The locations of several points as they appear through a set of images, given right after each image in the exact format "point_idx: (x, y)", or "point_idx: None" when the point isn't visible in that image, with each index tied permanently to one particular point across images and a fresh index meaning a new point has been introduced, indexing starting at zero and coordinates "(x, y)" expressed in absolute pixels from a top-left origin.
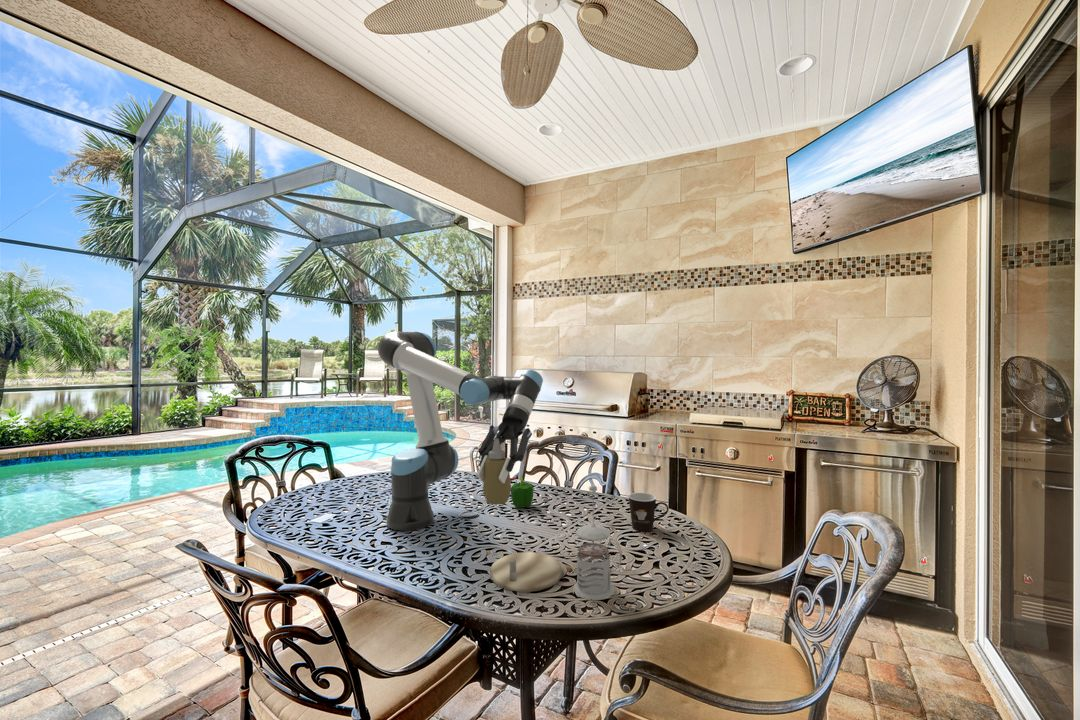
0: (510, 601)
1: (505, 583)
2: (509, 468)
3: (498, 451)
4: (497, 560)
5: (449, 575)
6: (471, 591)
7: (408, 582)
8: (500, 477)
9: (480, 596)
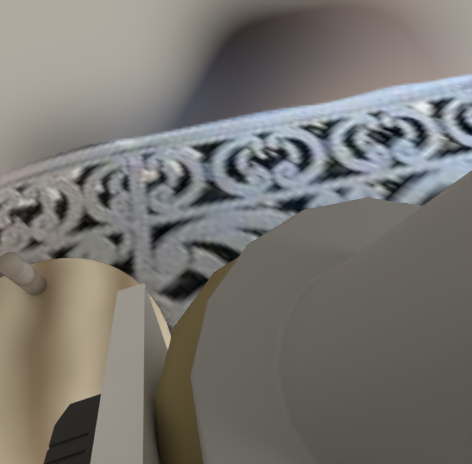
0: (4, 236)
1: (47, 261)
2: (64, 411)
3: (289, 328)
4: (168, 340)
5: (238, 212)
6: (123, 202)
7: (284, 131)
8: (123, 291)
9: (86, 203)
